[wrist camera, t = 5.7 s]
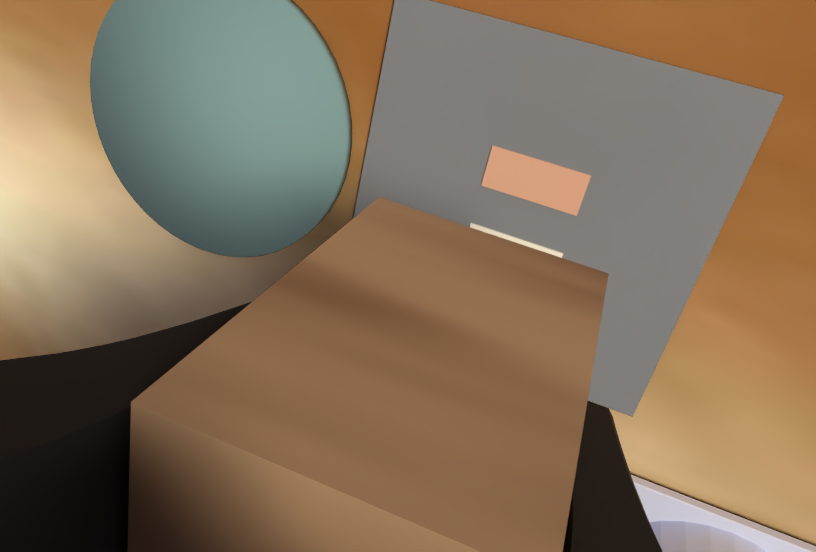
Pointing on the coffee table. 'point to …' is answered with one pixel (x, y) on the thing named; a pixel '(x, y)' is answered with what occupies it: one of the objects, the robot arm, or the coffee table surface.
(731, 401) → the coffee table surface
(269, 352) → the walnut block
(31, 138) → the coffee table surface
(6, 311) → the coffee table surface
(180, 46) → the coaster
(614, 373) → the grey square plate
